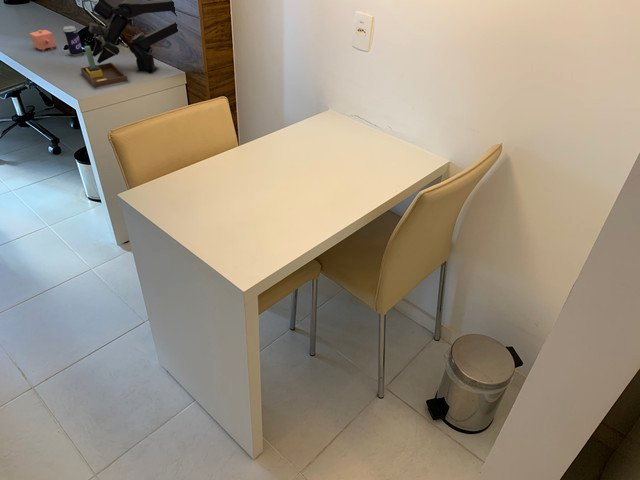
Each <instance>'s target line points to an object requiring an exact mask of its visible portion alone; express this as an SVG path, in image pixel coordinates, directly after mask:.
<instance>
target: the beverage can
mask: <svg viewBox="0 0 640 480" xmlns="http://www.w3.org/2000/svg"><path fill="white" fill-rule="evenodd" d="M62 32H63V35H64V38H65V42H66V44H67V45H66V46H67V48H68V51H69V55H71V56H73V57H77V56H81V55H82V54H83V52H84V51H83V46H82V43H81V40H80V37H79V33H78V29H77V28H76V26H74V25H67V26H63V30H62Z"/></svg>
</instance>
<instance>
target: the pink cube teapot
mask: <svg viewBox="0 0 640 480" xmlns="http://www.w3.org/2000/svg"><path fill="white" fill-rule="evenodd" d="M29 35H30V36H29V37H30V39H31V42H32V44H33V46H34V48H36V49H37V50H41V51H42V52H44V51H46V49H50V50H54V48H55V47H57V43H56V41H55V38H54V34H53V32H52V31H49V30H47V29H39V30H37V31H33V32H29Z"/></svg>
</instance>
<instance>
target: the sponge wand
mask: <svg viewBox="0 0 640 480" xmlns="http://www.w3.org/2000/svg"><path fill="white" fill-rule="evenodd" d="M83 49H84V52H85V55H86V58H87V62H88V66H86V67H87V68H86V71H87V74H88V75H89V76H90V77H91V78H95V77H101V76H103V75H102V71H101V69H100V68H99V67H98V66H97V65H98V64H96V63H95V59H94V56H93V55H92V54H93V51H92V49H91V45H84V48H83Z"/></svg>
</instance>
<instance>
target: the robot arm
mask: <svg viewBox="0 0 640 480" xmlns="http://www.w3.org/2000/svg"><path fill="white" fill-rule="evenodd" d="M92 12H94V13H95V14H96V15H98V16H99V17H100V18H102V19H103V20H105V21H108V20H110V22H109V23H108V24H105V25H104V26H103V25H101V24H98V23H94V22H89V27H88V31H89V33H91V34H93V38H94V41H95V44H94V47H93V51H92V55H93V58H95V57H97V56H98V55H99V56H98V58H97V63H98V64H101V63H103V62H105V61H106V60H109V59H110V58H113V57H116V56H118V55H119V53H120V48H119V46H117V45H118V43H117V42H118V41H119V39H121V38H122V37H123V35H122V34H123V33H124V31H125V30H126V29H127V27H128V25H130V26H131V27H133V26H134V22H133V18H135V17H137V16H140V15H143V14H152V13H164V12H165V13H166V12H171V13H173V15H175V17H177V15H176V13H175V7H174V2H173V1H172V0H149V1H148V0H147V1H140V0H123V1H122V2H121V3H118V4H115V5H113V4H112V3H111V2H109V1H108V0H98V1H97V2H96V4H95V5H94V6H93V8H92ZM174 22H175V21H174ZM177 33H179V32H178V29H177V24H176V22H175V23H173V22H170V23H168V24H166V25H164V26H163V27H160V28H158V29H156V30H154V31H152V32H150V33H147V34H145V33H144V31H141V32H140V33H138V34H134V36H133V37H132V38H131V41H130V42H129V44H128V49H129V51H130V52H131V53H132V54H133V55H134V57H135V58H136V59H135V62H136V67H137V72H143V73H148V74H152V73H153V72H154V71H155V70H156V69H158V67H157V66H156V64H155V58H154V54H152V53H153V47H152V45H154V44H156V43H158V42H160V41H162V40H164V39H166V38H168V37H171V36H173V35H175V34H177Z"/></svg>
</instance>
